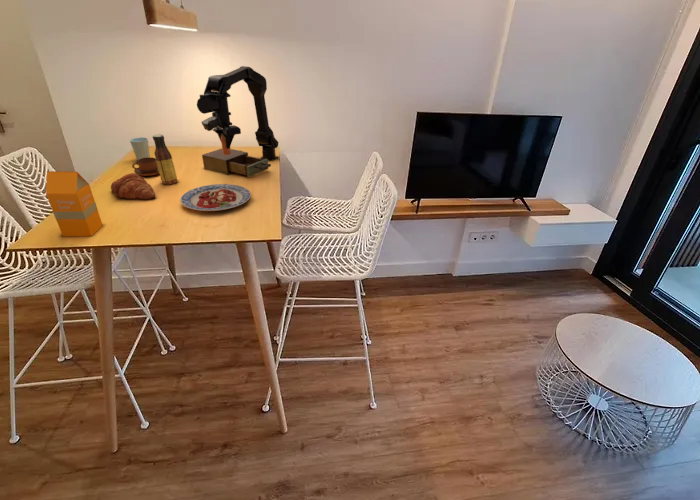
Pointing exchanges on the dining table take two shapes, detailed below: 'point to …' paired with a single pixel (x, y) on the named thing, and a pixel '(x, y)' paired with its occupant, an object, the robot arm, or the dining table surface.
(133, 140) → the cup
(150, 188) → the pastry
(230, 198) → the ceramic plate
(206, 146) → the dining table surface
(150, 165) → the cup and saucer
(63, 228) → the orange juice
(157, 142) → the sauce bottle
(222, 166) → the cabinet
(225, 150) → the spice jar
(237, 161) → the drawer
